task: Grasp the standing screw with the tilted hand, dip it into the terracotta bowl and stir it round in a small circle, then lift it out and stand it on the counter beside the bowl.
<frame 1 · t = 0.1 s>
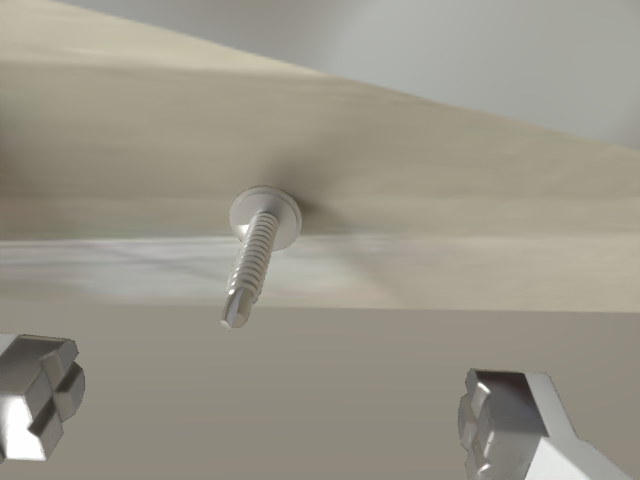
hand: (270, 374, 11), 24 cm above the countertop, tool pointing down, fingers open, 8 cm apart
screw: (270, 205, 36), on the countertop
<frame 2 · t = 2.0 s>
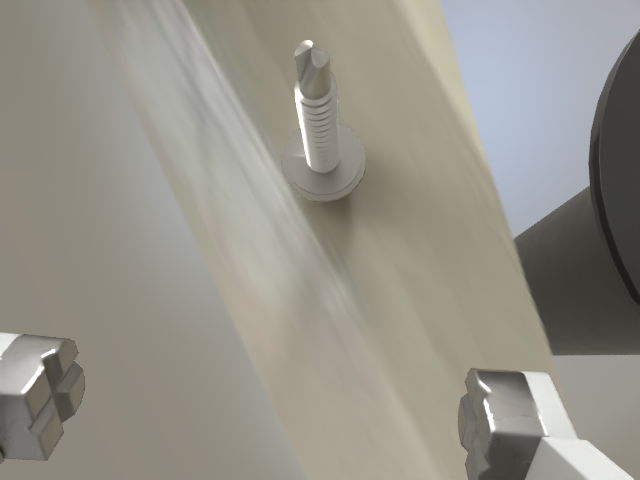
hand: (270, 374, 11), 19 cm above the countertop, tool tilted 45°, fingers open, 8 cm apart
screw: (325, 173, 32), on the countertop
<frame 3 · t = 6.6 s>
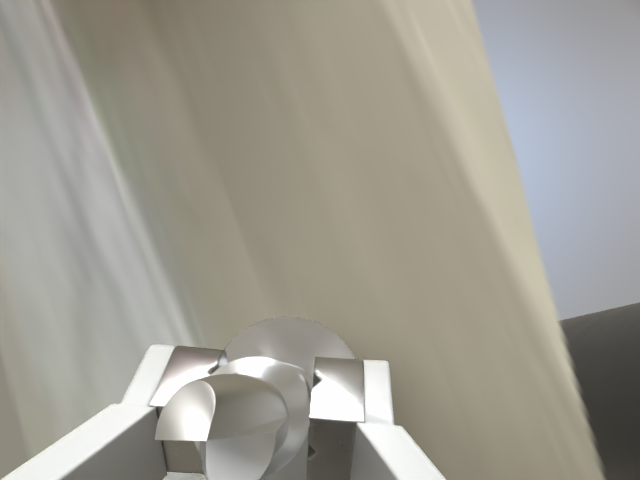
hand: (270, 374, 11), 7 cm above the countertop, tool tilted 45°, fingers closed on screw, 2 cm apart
screw: (291, 393, 18), on the countertop, touching gripper
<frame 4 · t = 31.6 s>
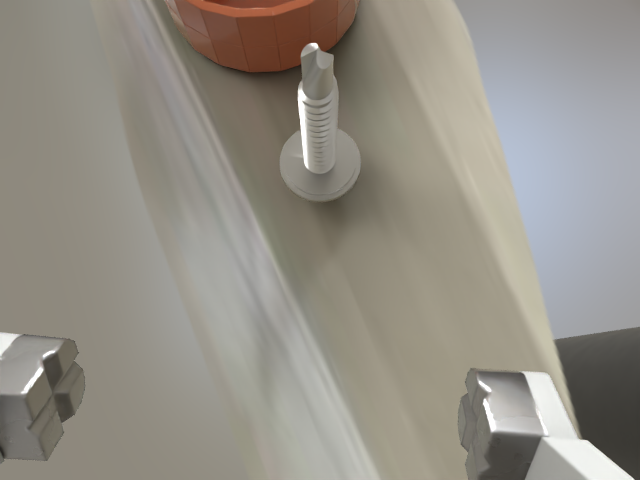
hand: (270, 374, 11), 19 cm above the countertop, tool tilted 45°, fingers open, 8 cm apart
screw: (320, 176, 33), on the countertop
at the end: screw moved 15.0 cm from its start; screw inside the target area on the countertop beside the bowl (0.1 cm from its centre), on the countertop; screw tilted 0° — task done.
